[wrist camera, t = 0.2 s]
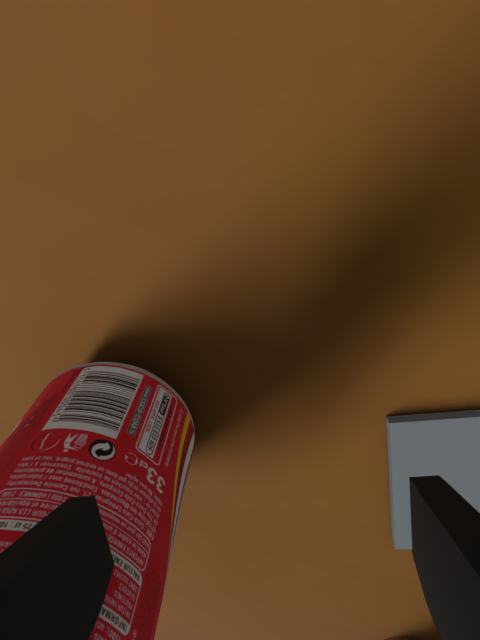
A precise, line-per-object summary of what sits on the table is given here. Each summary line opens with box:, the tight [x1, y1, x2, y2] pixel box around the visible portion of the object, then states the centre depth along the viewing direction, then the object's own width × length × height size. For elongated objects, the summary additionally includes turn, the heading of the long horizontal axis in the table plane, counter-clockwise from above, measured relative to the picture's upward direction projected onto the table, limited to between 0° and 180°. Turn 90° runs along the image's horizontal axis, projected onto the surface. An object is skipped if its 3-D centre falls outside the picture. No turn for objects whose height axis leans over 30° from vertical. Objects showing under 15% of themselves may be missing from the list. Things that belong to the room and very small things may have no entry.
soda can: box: [0, 362, 195, 640], centre depth 14 cm, size 7×7×13 cm
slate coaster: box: [386, 409, 480, 550], centre depth 20 cm, size 7×7×1 cm
